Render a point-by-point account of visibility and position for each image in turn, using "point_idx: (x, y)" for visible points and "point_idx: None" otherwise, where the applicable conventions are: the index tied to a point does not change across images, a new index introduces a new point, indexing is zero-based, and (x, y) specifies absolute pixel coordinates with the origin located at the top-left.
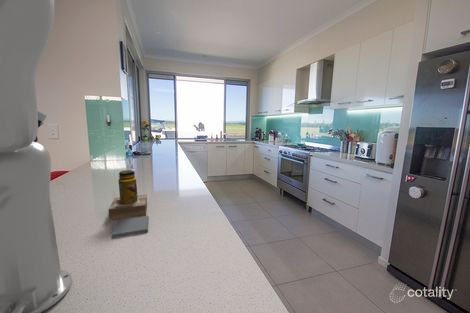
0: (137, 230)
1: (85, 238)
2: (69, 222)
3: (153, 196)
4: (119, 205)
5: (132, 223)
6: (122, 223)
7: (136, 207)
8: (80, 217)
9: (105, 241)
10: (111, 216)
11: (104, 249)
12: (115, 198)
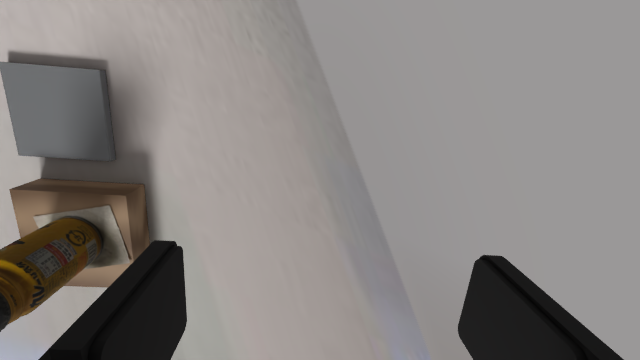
0: (29, 64)
1: (176, 97)
2: (247, 211)
3: (48, 314)
4: (97, 213)
5: (57, 119)
6: (88, 130)
7: (43, 189)
8: (229, 232)
9: (118, 56)
10: (132, 187)
11: (107, 11)
12: None
